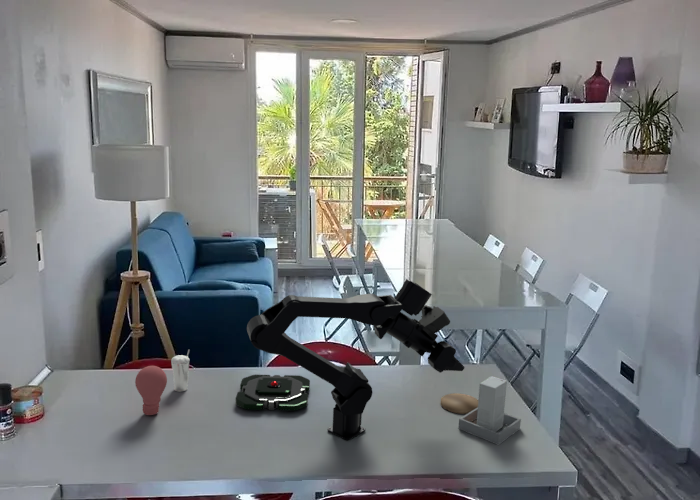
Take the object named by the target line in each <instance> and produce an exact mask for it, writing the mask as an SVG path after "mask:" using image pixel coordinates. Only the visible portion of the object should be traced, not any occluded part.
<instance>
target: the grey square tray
mask: <svg viewBox="0 0 700 500" xmlns="http://www.w3.org/2000/svg"><path fill="white" fill-rule="evenodd" d="M477 412H478V407H477V408H476V409H474V410H472V411H471V412H469V413H468V414H463V416H462V417H460V418H458V428H457V429H459V430H461V431H463V432H466V433H469V434H471V435H473V436H475V437H478V438H481V439H484V440H486V441H488V442H490V443H493V444H494V445H495V444H496V445H497V446H499V445H500V444H501V443H503V442H504V441H506V440H507V439H508V438H509V437H511V436H512V435H514V434H515V433H516V432H518V431H519V430H520V429H521V422H522V419H521V418H519V417H516V416H513V415H511V414H508V413H506V412H504V420H503V425H505V426H507V427H505V428H503V429H502V430H500V431H497V432H494V431H492V430H489V429H487V428H484V427H481V426H479V425H477V423H474V422H475V420H477Z"/></svg>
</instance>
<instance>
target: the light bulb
mask: <svg viewBox="0 0 700 500" xmlns="http://www.w3.org/2000/svg"><path fill="white" fill-rule="evenodd" d="M134 383H135V388H136V389H137V391H138V393H139V395H140V396H141V397H142V413H143V414H144V415H146V416H152V415H153V416H154V415H157V414H158V413H159V411H160V410H159V409H160V402H161V399H162V398H161V397H162V395H163V393H164V391H165V389H166V387H167V384H168V378H167V374H166V372H165V371H164V370H163V369H162V367H159V366H156V365H148V366H145V367H143V368H142V369H140V370H139V371H138V373H137V375H136V377H135V381H134Z"/></svg>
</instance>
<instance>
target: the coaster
mask: <svg viewBox="0 0 700 500" xmlns="http://www.w3.org/2000/svg"><path fill="white" fill-rule="evenodd" d="M440 406H441V407H442V408H443V409H444V410H446V411H448V412H450V413H454V414H458V415H459V414H460V415H466V414H468V413H469V412H471V411H472V410H474V409H476V408H477V407H478V399H477V398H476V397H474V396H472V395H468V394H466V393H465V394H464V393H448V394H445V395H443V396H442V397H440Z"/></svg>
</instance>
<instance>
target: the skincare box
mask: <svg viewBox="0 0 700 500" xmlns="http://www.w3.org/2000/svg"><path fill="white" fill-rule="evenodd" d="M507 385H508V381H507V380H506V379H502V378H499V377H497V376H496V377H495V376H492V375H490V376H489V377H487V378H486V379H484V380H483V381H482V382H480V383H479V389H478V399H477V400H478V412H477V419H476V425H479V426H481V427H484V428H487V429H489V430H492V431H494V432H497V433H498V432H499V431H500V429H502V428H503V427H504V424H503V420H504V413H505V408H506V407H505V406H506V396H507Z"/></svg>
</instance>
